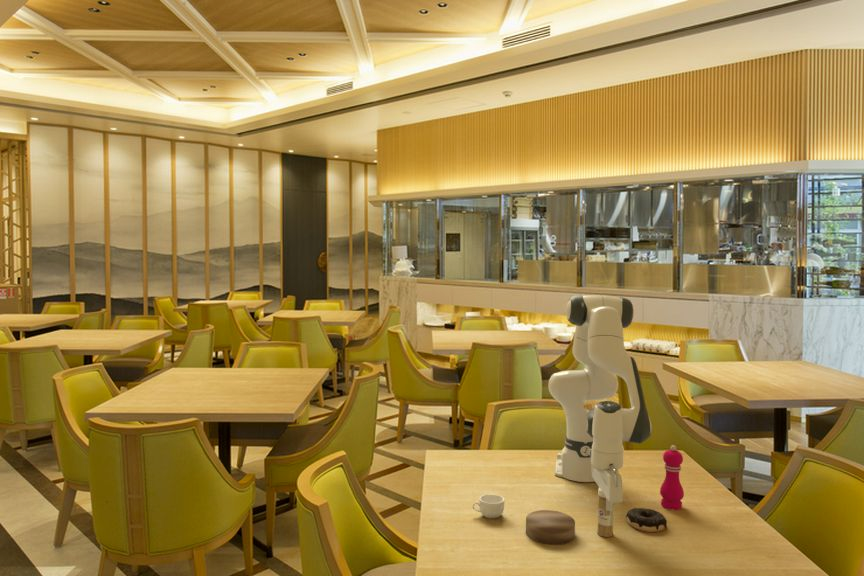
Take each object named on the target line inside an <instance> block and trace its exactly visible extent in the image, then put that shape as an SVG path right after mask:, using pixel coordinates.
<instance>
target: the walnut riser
mask: <svg viewBox="0 0 864 576" xmlns="http://www.w3.org/2000/svg"><path fill="white" fill-rule="evenodd" d="M525 534H526V536H527V537H528V538H529V539H531V540H533V541H534V542H538V543H540V544H545V545H554V546H555V545H557V546H558V545H565V544H568V543H571V542H572V541H573V540H574V539H575V535H576V520H575V519H574V518H573V516H571V515H569V514H567V513H565V512H561V511H557V510H550V509H545V510H544V509H543V510H541V509H540V510H536V511H532V512H530V513H528V514H527V515H526V517H525Z"/></svg>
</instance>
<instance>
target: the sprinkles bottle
mask: <svg viewBox="0 0 864 576" xmlns="http://www.w3.org/2000/svg"><path fill="white" fill-rule="evenodd" d="M597 492H598V493H597V495H598V503H597V504H598V505H597V506H598V508H597V509H598V510H597V530H596V533H597V534H598V535H599V536H601V537H603V538H610V537H612V536H613V535H614V532H613V531H614V504H615V503H613V509H612V511H607V510H606V508H605V503H606V497H605V495H604V494H603V492H602V491H601V489H600V488H599V487H598V489H597Z"/></svg>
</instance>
